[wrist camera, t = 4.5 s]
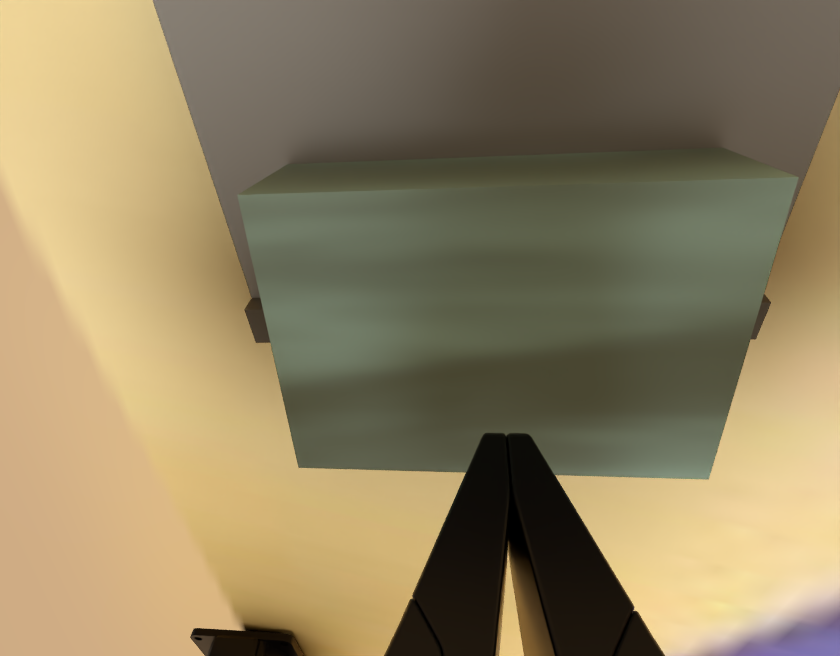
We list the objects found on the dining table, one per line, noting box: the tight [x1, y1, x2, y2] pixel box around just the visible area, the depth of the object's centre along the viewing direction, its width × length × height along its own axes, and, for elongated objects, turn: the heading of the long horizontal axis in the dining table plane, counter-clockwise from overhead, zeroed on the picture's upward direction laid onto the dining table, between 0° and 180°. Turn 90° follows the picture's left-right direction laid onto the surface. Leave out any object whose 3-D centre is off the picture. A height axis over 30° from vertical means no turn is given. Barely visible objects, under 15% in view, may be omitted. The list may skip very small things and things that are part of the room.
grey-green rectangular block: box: [237, 148, 799, 479], centre depth 12 cm, size 3×10×7 cm
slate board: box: [153, 0, 840, 343], centre depth 11 cm, size 11×14×1 cm
